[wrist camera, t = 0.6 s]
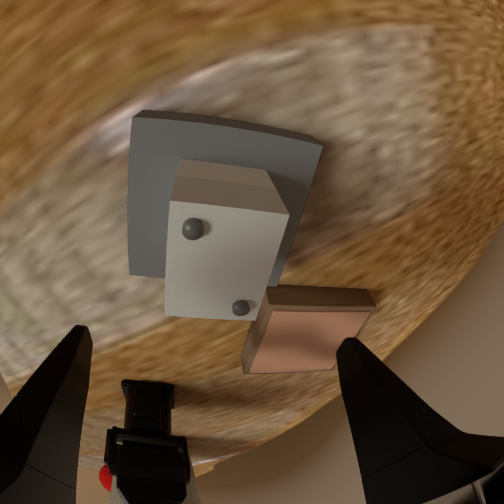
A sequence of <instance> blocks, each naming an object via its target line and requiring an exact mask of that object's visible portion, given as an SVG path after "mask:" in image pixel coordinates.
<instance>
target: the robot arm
mask: <svg viewBox="0 0 504 504" xmlns="http://www.w3.org/2000/svg"><path fill="white" fill-rule="evenodd" d="M92 348H93V343H92V339H91V335H90V332H89V329H88V327H87V326H83V325H75V326H74V327H73V328H72V329H71V331H70V332H69V333H68V334H67V335H66V336H65V337H64V338H63V339H62V341H61V342H60V343H59V344H58V345H57V346H56V347H55V349H54V350H53V351H52V352H51V353H50V354H49V355H48V357H47V358H46V359H45V360H44V361H43V363H42V364H41V365H40V366H39V367H38V368H37V370H36V371H35V372H34V373H33V375H32V376H31V377H30V378H29V379H28V381H27V382H26V383H25V384H24V386H23V387H22V388H21V389H20V391H19V392H18V393H17V396H15V397H14V398H13V400H12V401H11V402H10V404H9V405H8V406H7V407H6V408H5V410H4V411H3V412H2V413H1V414H0V504H76V482H77V468H78V457H79V447H80V439H81V431H82V424H83V417H84V411H85V405H86V400H87V394H88V388H89V378H90V367H91V357H92ZM336 360H337V366H338V373H339V380H340V386H341V392H342V396H343V400H344V404H345V408H346V412H347V416H348V420H349V424H350V428H351V433H352V437H353V441H354V446H355V450H356V454H357V459H358V463H359V469H360V473H361V477H362V484H363V489H364V494H365V498H366V504H504V437H496V436H486V435H485V436H484V435H476V434H468V433H465V432H463V431H461V430H459V429H457V428H456V427H455V426H453V425H452V424H451V423H450V422H448V421H447V420H446V419H445V418H443V417H442V416H441V415H439V414H438V413H437V412H436V411H434V410H433V409H432V408H431V407H430V406H429V405H428V404H427V403H426V402H424V401H423V400H422V399H421V398H420V397H419V396H417V394H416V393H415V392H414V391H413V390H412V389H411V388H409V387H408V386H407V385H406V384H405V383H404V382H403V381H402V380H401V379H400V378H399V377H398V376H397V375H396V374H395V373H393V372H392V371H391V370H390V369H389V368H388V367H387V366H386V365H385V364H384V363H383V362H382V361H381V360H380V359H379V358H378V357H377V356H375V355H374V354H373V353H372V352H371V351H370V350H369V349H368V348H367V347H366V346H365V345H364V344H363V343H362V342H360V341H359V340H358V339H357V338H356V337H347V338H345V339H344V340H343V342H342V343H341V345H340V346H339V348H338V349H337V351H336ZM121 387H122V390H123V393H124V396H125V399H126V408H125V421H124V429H122V428H117V427H116V426H113V428H112V429H107V438H106V447H105V455H104V463H105V464H106V465H107V466H108V470H110V475H111V476H116V487H117V492H118V494H119V495H120V497H121V498H122V500H123V501H124V503H125V504H181V503H183V501H184V500H185V498H186V496H187V491H186V485H188V484H189V482H190V476H191V469H190V461H189V455H188V449H187V442H186V437H184V436H181V437H177V436H171V409H174V386H173V385H164V384H153V383H142V382H133V381H125V380H123V381H121ZM117 442H121V443H122V445H121V444H117Z"/></svg>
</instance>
